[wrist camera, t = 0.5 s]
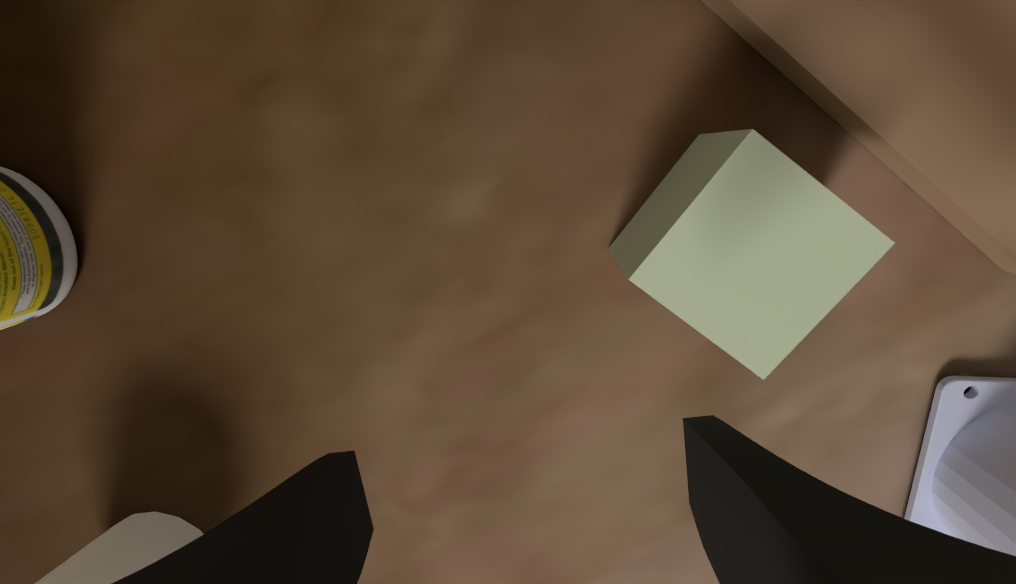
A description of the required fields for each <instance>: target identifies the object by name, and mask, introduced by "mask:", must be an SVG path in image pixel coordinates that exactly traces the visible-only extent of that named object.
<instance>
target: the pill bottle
mask: <svg viewBox="0 0 1016 584" xmlns="http://www.w3.org/2000/svg"><path fill="white" fill-rule="evenodd" d="M76 273H77V251H76V245H75V241H74V237H73V234H72V231H71V229H70V226H69V224H68V222H67V220H66V218H65V217H64V215H63V214H62V212H61V211H60V209H59V207H58V206H57V205H56V204H55V202H54V201H53V200H52V199H51V198H50V197H49V196H48V195H47V194H46V193H45V192H44V191H43V190H42V189H41V188H40V187H38V186H37V185H36V184H35V183H33V182H32V181H30V180H29V179H28V178H26V177H24V176H22V175H21V174H19V173H16V172H14V171H12V170H9V169H6V168H3V167H0V330H1V329H4V328H7V327H10V326H13V325H16V324H19V323H22V322H25V321H28V320H30V319H33V318H35V317H38V316H40V315H42V314H45V313H47V312H48V311H50V310H51V309H53V308H55V307H56V306H57V305H58V304H59V303H60V302H61V301H62V300H63V299H64V298H65V297H66V295H67V294H68V292H69V291H70V289H71V287H72V285H73V283H74V280H75V277H76Z"/></svg>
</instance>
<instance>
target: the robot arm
mask: <svg viewBox="0 0 1016 584" xmlns="http://www.w3.org/2000/svg"><path fill="white" fill-rule="evenodd" d="M968 387H971V388H970V390H969V392H967V393H966V394H964V391H965V389H966V388H968ZM683 425H684V438H685V451H686V464H687V478H688V491H689V503H690V506H691V510H692V513H693V516H694V519H695V523H696V526H697V529H698V532H699V535H700V538H701V541H702V544H703V547H704V550H705V552H706V554H707V556H708V559H709V561H710V563H711V565H712V567H713V570H714V572H715V574H716V576H717V578H718V581H719V583H720V584H1016V378H1002V377H976V376H947V377H945V378H943V379H942V380H941V381H940V382H939V383H938V385H937V387H936V390H935V394H934V398H933V402H932V407H931V411H930V415H929V419H928V423H927V427H926V431H925V435H924V439H923V443H922V448H921V452H920V456H919V460H918V464H917V468H916V472H915V476H914V480H913V485H912V489H911V493H910V497H909V501H908V505H907V509H906V513H905V517H904V518H901V517H899V516H896V515H894V514H891V513H889V512H886V511H884V510H882V509H879V508H877V507H875V506H873V505H871V504H868V503H866V502H864V501H862V500H859V499H857V498H855V497H853V496H851V495H848V494H846V493H844V492H842V491H840V490H838V489H836V488H834V487H832V486H830V485H828V484H826V483H824V482H822V481H821V480H819V479H817V478H815V477H813V476H811V475H809V474H808V473H806V472H804V471H802V470H800V469H798V468H797V467H795V466H793V465H791V464H790V463H788V462H786V461H785V460H783V459H781V458H780V457H778V456H776V455H775V454H773V453H771V452H770V451H768V450H767V449H765V448H763V447H762V446H760V445H759V444H757V443H756V442H754V441H752V440H751V439H749V438H748V437H746V436H745V435H743V434H742V433H740V432H739V431H737V430H736V429H734V428H733V427H731V426H729V425H728V424H726V423H725V422H723V421H722V420H720V419H718V418H717V417H715V416H713V415H711V416H701V417H691V418H683ZM372 533H373V525H372V521H371V516H370V512H369V508H368V504H367V500H366V496H365V492H364V488H363V484H362V480H361V476H360V472H359V468H358V464H357V460H356V456H355V451H347V452H337V453H328V454H326V455H324V456H323V457H321V458H319V459H317V460H316V461H314V462H312V463H311V464H309V465H308V466H306V467H305V468H303V469H302V470H300V471H299V472H297V473H296V474H294V475H293V476H291V477H290V478H288V479H287V480H285V481H284V482H282V483H281V484H279V485H278V486H277V487H275V488H274V489H272V490H271V491H269V492H268V493H266V494H265V495H263V496H262V497H260V498H259V499H258V500H256V501H255V502H253V503H252V504H250V505H249V506H247V507H246V508H244V509H242V510H241V511H239V512H238V513H236V514H235V515H233V516H232V517H230V518H228V519H227V520H225V521H224V522H222V523H221V524H219V525H218V526H216V527H214V528H213V529H211V530H210V531H208V532H207V533H205V534H203V535H202V536H200V537H198V538H197V539H195V540H193V541H192V542H190V543H188V544H186V545H185V546H183V547H181V548H180V549H178V550H176V551H174V552H172V553H170V554H169V555H167V556H165V557H163V558H161V559H159V560H158V561H156V562H154V563H152V564H150V565H148V566H146V567H144V568H143V569H141V570H139V571H137V572H134V573H132V574H130V575H128V576H126V577H124V578H122V579H120V580H118V581H116V582H114V583H111V584H357V582H358V580H359V577H360V575H361V572H362V569H363V565H364V562H365V559H366V556H367V552H368V548H369V545H370V541H371V537H372Z"/></svg>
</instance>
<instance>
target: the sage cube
mask: <svg viewBox="0 0 1016 584" xmlns="http://www.w3.org/2000/svg"><path fill="white" fill-rule="evenodd" d="M894 244H895V243H894V242H893V241H892V240H891V239H889V238H888V237H887V236H886V235H884V234H883V233H882V232H881V231H879V230H878V229H877V228H876V227H874V226H873V225H872V224H871V223H869V222H868V221H867V220H866V219H864V218H863V217H862V216H861V215H859V214H858V213H857V212H856V211H854V210H853V209H852V208H851V207H849V206H848V205H847V204H846V203H844V202H843V201H842V200H841V199H839V198H838V197H837V196H836V195H834V194H833V193H832V192H831V191H830V190H828V189H827V188H826V187H825V186H823V185H822V184H821V183H820V182H818V181H817V180H816V179H815V178H813V177H812V176H811V175H810V174H808V173H807V172H806V171H805V170H803V169H802V168H801V167H800V166H798V165H797V164H796V163H795V162H793V161H792V160H791V159H790V158H788V157H787V156H786V155H785V154H783V153H782V152H781V151H780V150H778V149H777V148H776V147H775V146H773V145H772V144H771V143H770V142H768V141H767V140H766V139H765V138H764V137H762V136H761V135H760V134H759V133H757V132H756V131H755V130H754V129H747V130H737V131H727V132H717V133H707V134H699V135H698V136H697V138H696V139H695V140H694V141H693V143H692V144H691V145H690V146H689V148H688V149H687V150H686V152H685V153H684V154H683V155H682V157H681V158H680V159H679V160H678V162H677V163H676V164H675V165H674V167H673V168H672V169H671V170H670V172H669V173H668V174H667V175H666V177H665V178H664V179H663V180H662V182H661V183H660V184H659V185H658V187H657V188H656V189H655V190H654V192H653V193H652V194H651V195H650V197H649V198H648V199H647V200H646V202H645V203H644V204H643V205H642V207H641V208H640V209H639V210H638V212H637V213H636V214H635V215H634V217H633V218H632V219H631V221H630V222H629V223H628V224H627V226H626V227H625V228H624V229H623V231H622V232H621V233H620V234H619V236H618V237H617V238H616V239H615V241H614V242H613V243H612V244H611V246H610V247H609V248H608V249H609V250H610V252H611V253H612V255H613V256H614V258H615V260H616V261H617V263H618V264H619V266H620V267H621V269H622V270H623V272H624V273H625V275H626V276H627V278H628V279H629V280H630V281H631V282H633V283H634V284H635V285H637V286H638V287H639V288H641V289H642V290H643V291H645V292H646V293H647V294H649V295H650V296H651V297H653V298H654V299H655V300H657V301H658V302H660V303H661V304H662V305H664V306H665V307H666V308H668V309H669V310H670V311H672V312H673V313H674V314H676V315H677V316H678V317H680V318H681V319H682V320H684V321H685V322H686V323H688V324H689V325H690V326H692V327H693V328H695V329H696V330H697V331H699V332H700V333H701V334H703V335H704V336H705V337H707V338H708V339H709V340H711V341H712V342H713V343H715V344H716V345H717V346H719V347H720V348H721V349H723V350H724V351H725V352H727V353H728V354H730V355H731V356H732V357H734V358H735V359H736V360H738V361H739V362H740V363H742V364H743V365H744V366H746V367H747V368H748V369H750V370H751V371H752V372H754V373H755V374H756V375H758V376H759V377H760V378H762V379H763V380H764V379H765V378H766V377H767V376H768V375H769V374H770V373H771V372H772V371H773V370H774V369H775V367H776V366H777V365H778V364H779V363H780V362H781V361H782V360H783V359H784V358H785V357H786V356H787V355H788V354H789V353H790V352H791V351H792V350H793V349H794V348H795V347H796V346H797V345H798V344H799V343H800V341H801V340H802V339H803V338H804V337H805V336H806V335H807V334H808V333H809V332H810V331H811V330H812V329H813V328H814V327H815V326H816V325H817V324H818V323H819V322H820V321H821V320H822V319H823V318H824V317H825V315H826V314H827V313H828V312H829V311H830V310H831V309H832V308H833V307H834V306H835V305H836V304H837V303H838V302H839V301H840V300H841V299H842V298H843V297H844V296H845V295H846V294H847V293H848V292H849V291H850V289H851V288H852V287H853V286H854V285H855V284H856V283H857V282H858V281H859V280H860V279H861V278H862V277H863V276H864V275H865V274H866V273H867V272H868V271H869V270H870V269H871V268H872V267H873V266H874V264H875V263H876V262H877V261H878V260H879V259H880V258H881V257H882V256H883V255H884V254H885V253H886V252H887V251H888V250H889V249H890V248H891V247H892V246H893V245H894Z"/></svg>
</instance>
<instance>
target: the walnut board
mask: <svg viewBox="0 0 1016 584" xmlns="http://www.w3.org/2000/svg"><path fill="white" fill-rule="evenodd" d="M700 1H702V2H703V3H704V4H705V5H706V6H707V7H708V8H709V9H710V10H712V11H713V12H714V13H715V14H716V15H717V16H718V17H719V18H721V19H722V20H723V21H724V22H725V23H726V24H727V25H728V26H730V27H731V28H732V29H733V30H734V31H735V32H736V33H737V34H738V35H740V36H741V37H742V38H743V39H744V40H745V41H746V42H747V43H749V44H750V45H751V46H752V47H753V48H754V49H755V50H756V51H758V52H759V53H760V54H761V55H762V56H763V57H764V58H765V59H766V60H768V61H769V62H770V63H771V64H772V65H773V66H774V67H775V68H777V69H778V70H779V71H780V72H781V73H782V74H783V75H784V76H786V77H787V78H788V79H789V80H790V81H791V82H792V83H793V84H794V85H796V86H797V87H798V88H799V89H800V90H801V91H802V92H803V93H805V94H806V95H807V96H808V97H809V98H810V99H811V100H812V101H814V102H815V103H816V104H817V105H818V106H819V107H820V108H821V109H822V110H824V111H825V112H826V113H827V114H828V115H829V116H830V117H831V118H833V119H834V120H835V121H836V122H837V123H838V124H839V125H840V126H842V127H843V128H844V129H845V130H846V131H847V132H848V133H849V134H851V135H852V136H853V137H854V138H855V139H856V140H857V141H858V142H859V143H861V144H862V145H863V146H864V147H865V148H866V149H867V150H868V151H870V152H871V153H872V154H873V155H874V156H875V157H876V158H877V159H879V160H880V161H881V162H882V163H883V164H884V165H885V166H886V167H887V168H889V169H890V170H891V171H892V172H893V173H894V174H895V175H896V176H898V177H899V178H900V179H901V180H902V181H903V182H904V183H905V184H907V185H908V186H909V187H910V188H911V189H912V190H913V191H914V192H915V193H917V194H918V195H919V196H920V197H921V198H922V199H923V200H924V201H926V202H927V203H928V204H929V205H930V206H931V207H932V208H933V209H935V210H936V211H937V212H938V213H939V214H940V215H941V216H942V217H943V218H945V219H946V220H947V221H948V222H949V223H950V224H951V225H952V226H954V227H955V228H956V229H957V230H958V231H959V232H960V233H961V234H963V235H964V236H965V237H966V238H967V239H968V240H969V241H970V242H972V243H973V244H974V245H975V246H976V247H977V248H978V249H979V250H980V251H982V252H983V253H984V254H985V255H986V256H987V257H988V258H989V259H991V260H992V261H993V262H994V263H995V264H996V265H997V266H998V267H1000V268H1001V269H1002V270H1003V271H1007V272H1011V273H1015V274H1016V0H700Z"/></svg>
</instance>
